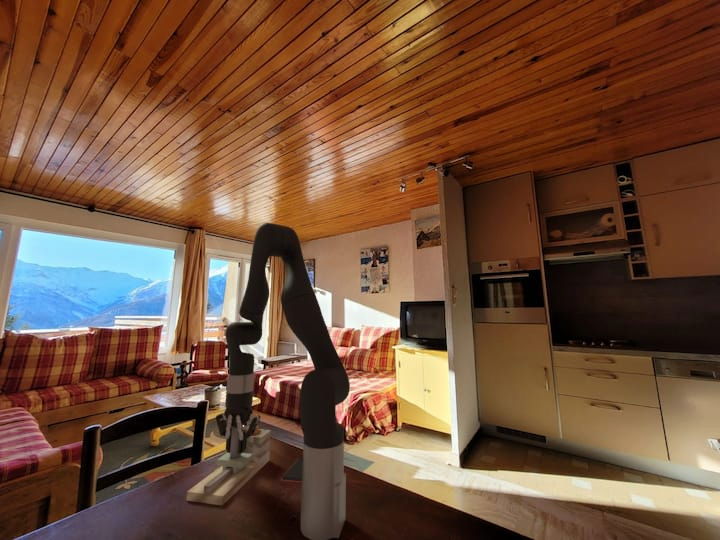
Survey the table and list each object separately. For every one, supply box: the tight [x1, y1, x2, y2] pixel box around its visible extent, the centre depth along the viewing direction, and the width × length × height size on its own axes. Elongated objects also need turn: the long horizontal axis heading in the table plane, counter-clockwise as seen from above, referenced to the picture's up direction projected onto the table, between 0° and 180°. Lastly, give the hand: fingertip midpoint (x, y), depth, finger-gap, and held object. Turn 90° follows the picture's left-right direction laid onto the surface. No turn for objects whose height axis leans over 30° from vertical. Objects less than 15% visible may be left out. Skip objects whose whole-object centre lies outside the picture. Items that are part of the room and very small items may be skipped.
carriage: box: [216, 426, 253, 474], centre depth 83 cm, size 8×5×11 cm, turn 79°
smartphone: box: [280, 456, 303, 484], centre depth 87 cm, size 7×1×14 cm
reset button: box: [248, 425, 260, 436], centre depth 91 cm, size 4×4×3 cm
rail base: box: [186, 428, 272, 506], centre depth 82 cm, size 10×23×9 cm, turn 169°
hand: (235, 451), depth 83 cm, fingers closed on carriage, 3 cm apart
